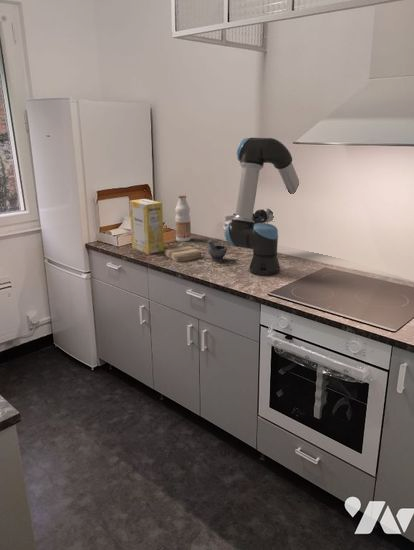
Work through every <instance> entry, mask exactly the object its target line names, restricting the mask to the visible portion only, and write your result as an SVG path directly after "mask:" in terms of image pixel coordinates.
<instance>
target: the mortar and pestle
mask: <svg viewBox="0 0 414 550" xmlns="http://www.w3.org/2000/svg"><path fill="white" fill-rule="evenodd" d="M207 244H208V247H207V248H208V250H207V251H208V254H209V255H210V257H211V261H213V262H219V263H220V262H223V261H224V257H225V256H226V254H227V252H228V251H227V249H228V248H227V246H225V245H219V244H217V245H215V244H214V241H213V239H209V240H207Z"/></svg>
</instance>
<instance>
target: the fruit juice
mask: <svg viewBox="0 0 414 550" xmlns="http://www.w3.org/2000/svg"><path fill="white" fill-rule="evenodd" d="M177 197H178V201H177V203H176V206H175V210H174V211H175V218H174V221H175V239H176V241H177V242H188V241H190V240H191V237H192V235H191V233H192V232H191V216H190V213H191V212H190V211H191V208H190V206H189V204H188V201H187V195H186V194H179V195H178V196H177Z"/></svg>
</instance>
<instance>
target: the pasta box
mask: <svg viewBox="0 0 414 550" xmlns="http://www.w3.org/2000/svg"><path fill="white" fill-rule="evenodd" d="M128 203H129V216H130V218H129V219H130V232H131V248H133V249H135V250H138V251H140V252H142V253H145V254H147V255H149V254H150V255H151V254H155V253H160V252H165V246H164V245H165V243H164V239H165V238H164V218H163V202H161V201H156V200H152V199H148V198H141V199H139V198H138V199H133V200H129V202H128Z"/></svg>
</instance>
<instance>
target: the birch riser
mask: <svg viewBox="0 0 414 550" xmlns="http://www.w3.org/2000/svg"><path fill="white" fill-rule="evenodd" d="M164 256H165V257H167V258H169V259H171V260H172V261H174V262H177V263H179V262H183V261H184V262H185V261H191V260H195V259H201V258H202V251H201V250H199V249H196V248H195V247H192V246H189V245H184V246H178V247H172V248H164Z"/></svg>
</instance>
